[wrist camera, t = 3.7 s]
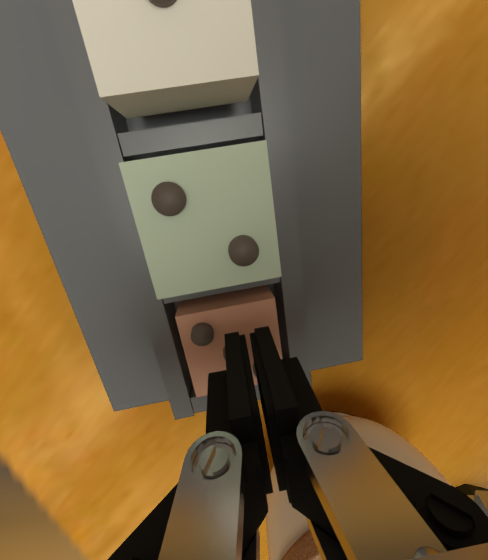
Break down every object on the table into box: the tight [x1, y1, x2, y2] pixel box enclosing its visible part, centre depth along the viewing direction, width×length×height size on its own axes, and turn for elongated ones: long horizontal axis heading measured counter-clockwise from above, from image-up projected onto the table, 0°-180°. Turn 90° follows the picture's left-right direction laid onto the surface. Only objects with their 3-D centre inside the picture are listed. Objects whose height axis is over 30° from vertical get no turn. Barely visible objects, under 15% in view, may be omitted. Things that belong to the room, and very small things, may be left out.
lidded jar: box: [266, 412, 452, 560], centre depth 15 cm, size 11×11×9 cm
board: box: [0, 0, 363, 420], centre depth 12 cm, size 14×19×4 cm
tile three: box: [175, 285, 282, 397], centre depth 13 cm, size 4×4×3 cm
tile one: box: [72, 0, 259, 119], centre depth 7 cm, size 4×4×3 cm
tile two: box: [119, 140, 282, 300], centre depth 9 cm, size 4×4×3 cm
